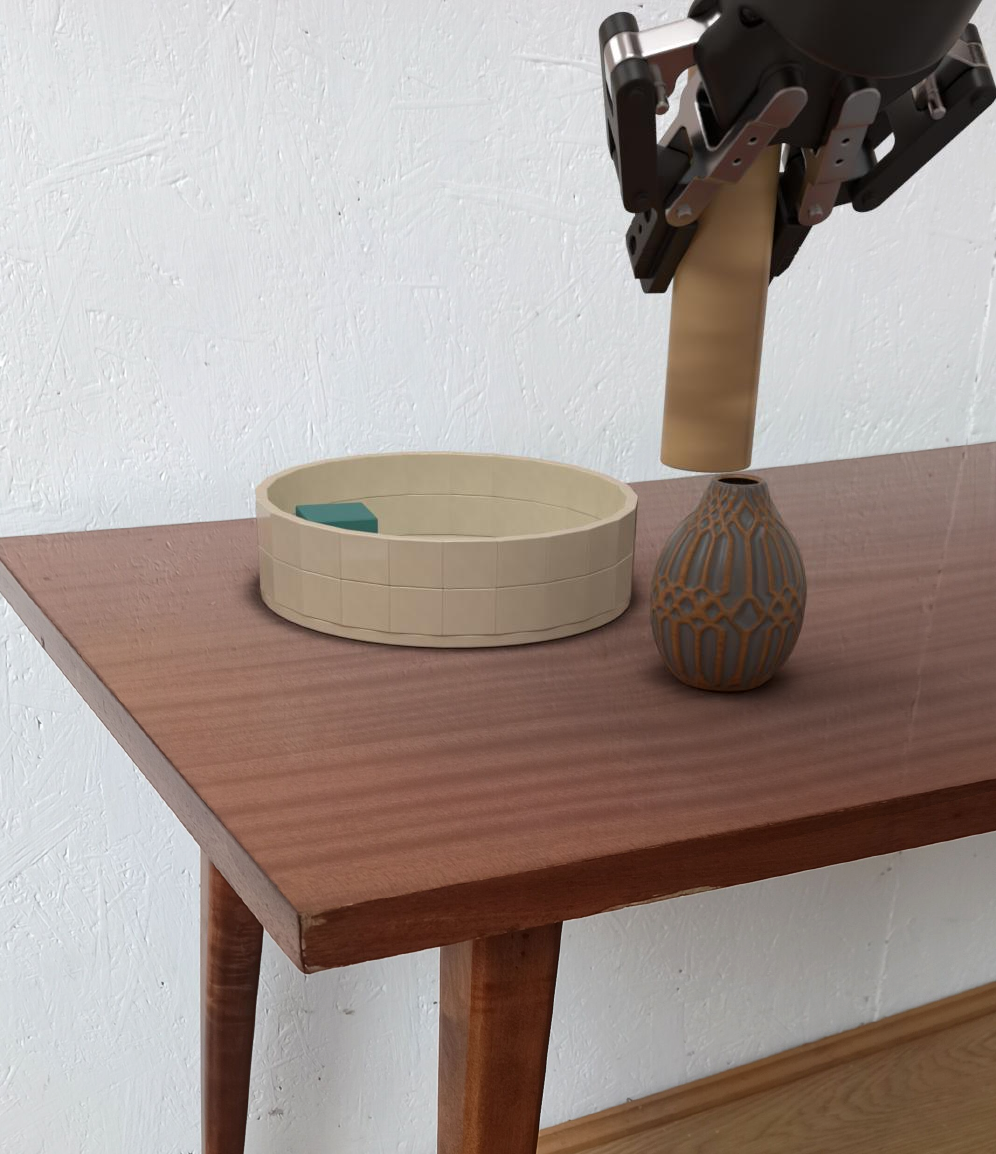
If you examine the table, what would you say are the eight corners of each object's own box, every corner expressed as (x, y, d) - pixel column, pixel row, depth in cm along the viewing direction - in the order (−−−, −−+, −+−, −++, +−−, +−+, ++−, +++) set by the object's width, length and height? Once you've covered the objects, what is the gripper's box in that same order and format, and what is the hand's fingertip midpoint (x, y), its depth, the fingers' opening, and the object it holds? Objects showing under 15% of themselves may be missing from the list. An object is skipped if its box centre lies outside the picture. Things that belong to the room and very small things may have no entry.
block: (363, 569, 90) (362, 501, 88) (379, 588, 87) (378, 517, 85) (297, 573, 89) (294, 504, 87) (311, 592, 86) (309, 521, 85)
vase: (826, 679, 78) (852, 481, 74) (733, 714, 74) (753, 506, 70) (708, 644, 82) (725, 454, 78) (613, 675, 78) (625, 476, 74)
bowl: (640, 552, 97) (646, 460, 94) (618, 659, 80) (625, 550, 78) (305, 534, 98) (302, 443, 96) (218, 634, 82) (211, 528, 79)
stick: (750, 456, 66) (792, 28, 58) (750, 475, 63) (794, 27, 56) (662, 451, 66) (692, 24, 59) (657, 470, 63) (689, 24, 56)
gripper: (1101, -256, 49) (842, 185, 66) (650, -297, 45) (492, 184, 62) (1176, -41, 48) (892, 356, 64) (717, -64, 44) (537, 367, 60)
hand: (697, 270), depth 63 cm, fingers closed on stick, 3 cm apart
